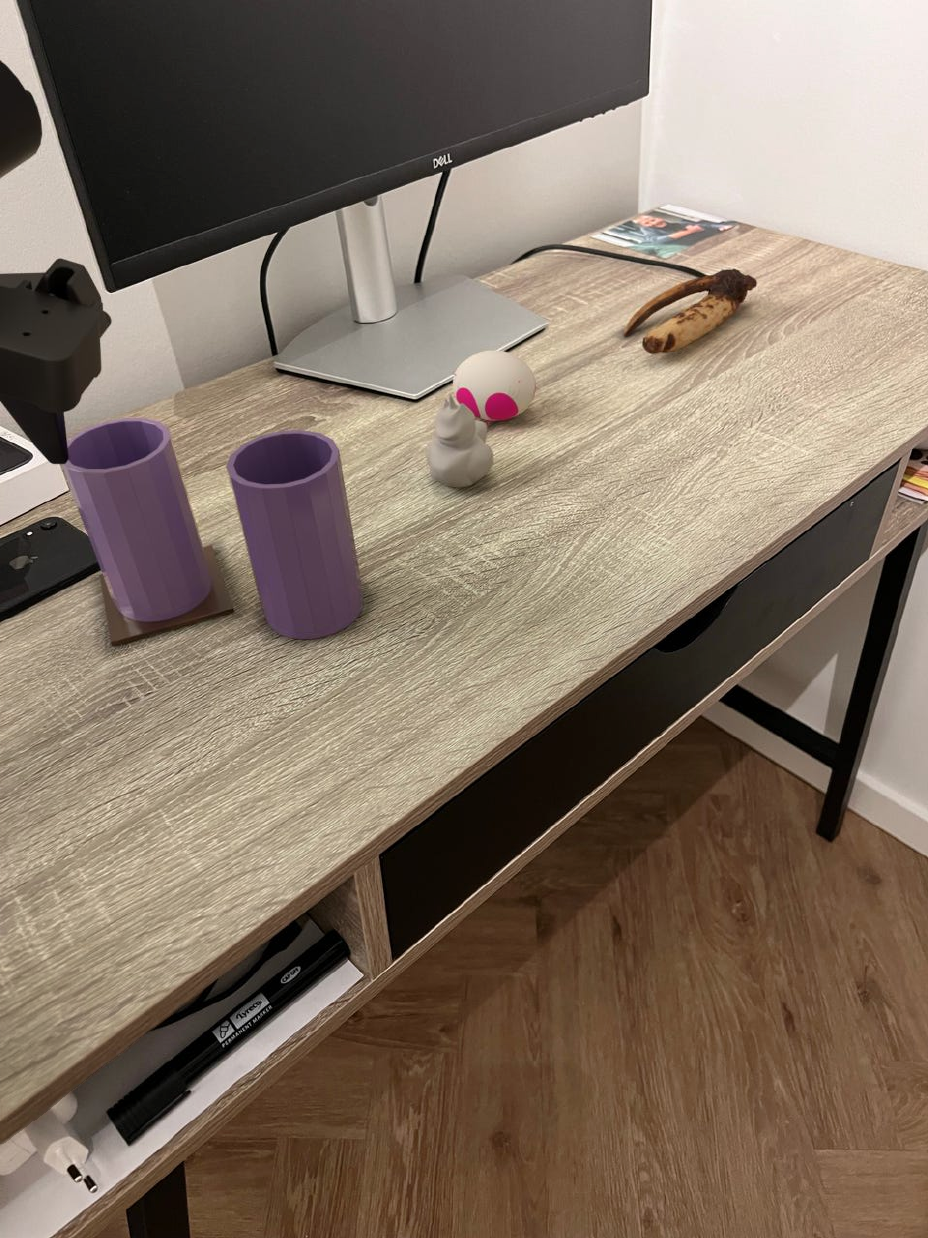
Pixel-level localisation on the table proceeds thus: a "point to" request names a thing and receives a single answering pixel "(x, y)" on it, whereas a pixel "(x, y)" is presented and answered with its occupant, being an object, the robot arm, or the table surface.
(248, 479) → the tumbler
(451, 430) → the rubber duck
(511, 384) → the stress ball
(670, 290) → the lashed bone hook
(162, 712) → the table surface
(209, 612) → the coaster
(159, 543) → the tumbler
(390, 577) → the table surface
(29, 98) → the robot arm
